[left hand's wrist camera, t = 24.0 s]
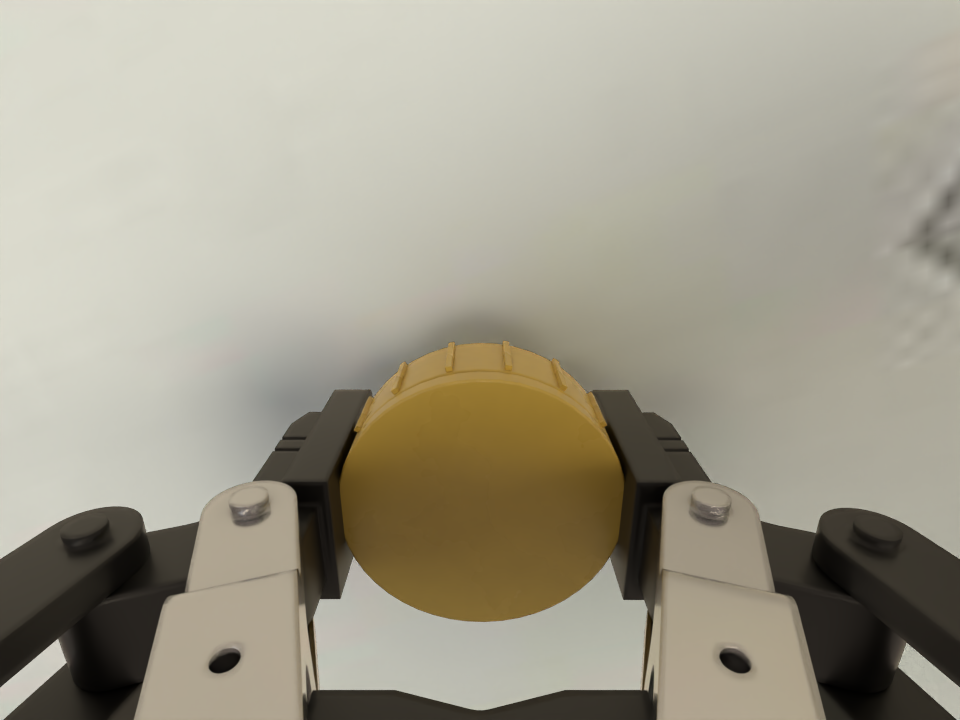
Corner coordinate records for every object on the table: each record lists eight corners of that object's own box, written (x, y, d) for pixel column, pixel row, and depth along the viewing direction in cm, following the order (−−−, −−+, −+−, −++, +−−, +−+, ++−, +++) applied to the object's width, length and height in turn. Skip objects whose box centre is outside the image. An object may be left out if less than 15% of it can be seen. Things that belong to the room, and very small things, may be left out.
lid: (600, 556, 12) (620, 622, 10) (368, 560, 12) (350, 627, 10) (615, 336, 10) (641, 372, 8) (342, 342, 10) (316, 380, 8)
